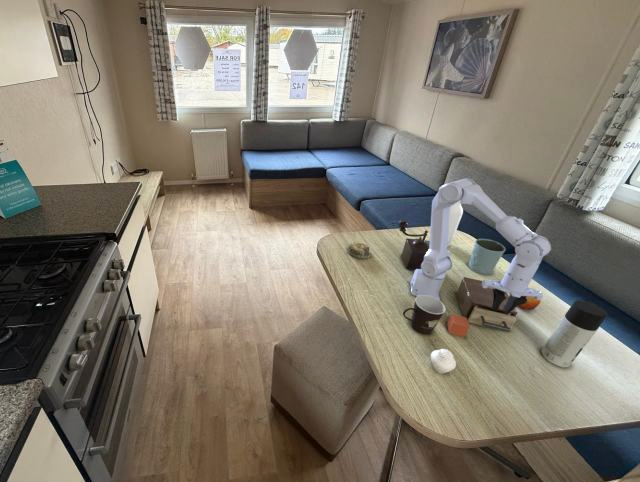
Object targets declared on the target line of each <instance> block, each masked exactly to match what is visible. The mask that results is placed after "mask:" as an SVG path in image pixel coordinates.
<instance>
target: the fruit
mask: <svg viewBox="0 0 640 482" xmlns="http://www.w3.org/2000/svg"><path fill="white" fill-rule="evenodd" d="M527 287H528V288H531V287H529V286H527ZM531 289H533V288H531ZM526 299H527V302H526V303H525V304H522V305H519V306H518V308H520V309H522V310H525V311H532V310H535V309H536V308H537V307H538V306H539V305H540V304H541V300H542V299H541V300H537V299H535V298H533V297H528V296H527V297H526Z"/></svg>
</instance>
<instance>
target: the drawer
mask: <svg viewBox="0 0 640 482" xmlns="http://www.w3.org/2000/svg"><path fill="white" fill-rule="evenodd" d="M510 315H511V313H508V314H506V313H505V312H503V311H499V310H497V311H494V310H493V309H491V308H486V307H482V306H478V305H474V306H473V308H472V310H471V312H470V314H469V316H470V317H469V319H468V320H467V321H468V323H470V324H474V325H478V326H481V327H485V328H486V327H487V328H489V329H494V330H498V331H502V332H506V333H510V332H511V330H512V328H513V327H514V325H515V323H516V321H517V320H518V319H517V316H516V317H515V316H510Z"/></svg>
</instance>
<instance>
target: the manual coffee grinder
mask: <svg viewBox="0 0 640 482" xmlns="http://www.w3.org/2000/svg"><path fill="white" fill-rule="evenodd" d="M397 226H398V227H399V231H400V233H401V232H402V234H403V235H404V236H406V237H407V238H405V242H404V245H403V248H402V252H401V254H400V259H401V261H402V263H403V266H404V268H405V269H407V270H412V271H415V270H416V269H421V264H422V262H423V261H424V256H425V254H426V253H427V252H428V250H429V246H430V240H426V238H427V236H428V233H429V230H424V232H423V233H421V234H410V233H407V227H408V226H409V223H408V221H407V220H404V219H401V220H399V221H398V222H397ZM408 237H410V238H408ZM413 237H415V238H413ZM417 237H419V238H417Z"/></svg>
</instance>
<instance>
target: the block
mask: <svg viewBox="0 0 640 482" xmlns="http://www.w3.org/2000/svg"><path fill="white" fill-rule="evenodd" d="M446 325H447V329H448V333H449V334H451V335H455V336H458V337H462V338H465V337H466V335H467V333H468V331H469V329H470V324H469V322H468V320H467V318H466V317H464V316H463V315H458V314H454V313H451V314H450V316H449V318H448V321H447V322H446Z"/></svg>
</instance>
